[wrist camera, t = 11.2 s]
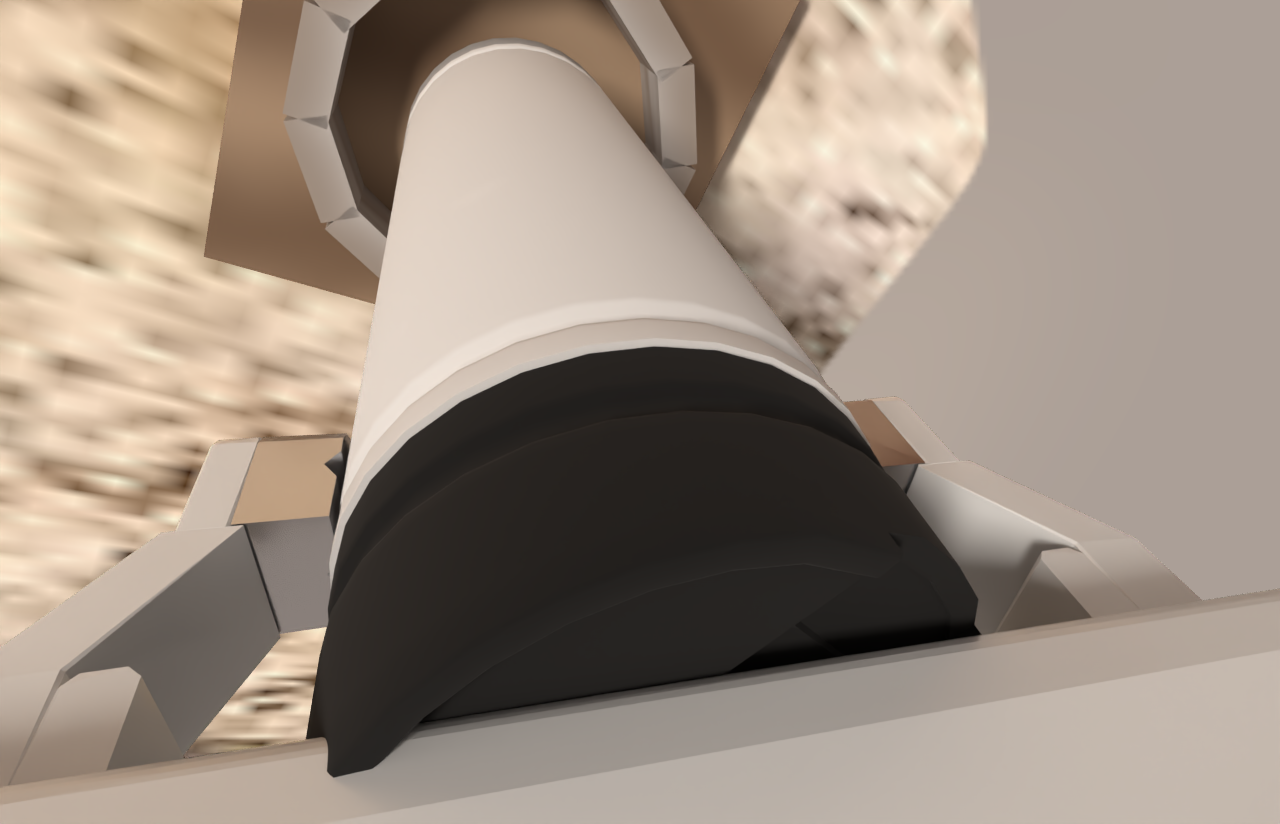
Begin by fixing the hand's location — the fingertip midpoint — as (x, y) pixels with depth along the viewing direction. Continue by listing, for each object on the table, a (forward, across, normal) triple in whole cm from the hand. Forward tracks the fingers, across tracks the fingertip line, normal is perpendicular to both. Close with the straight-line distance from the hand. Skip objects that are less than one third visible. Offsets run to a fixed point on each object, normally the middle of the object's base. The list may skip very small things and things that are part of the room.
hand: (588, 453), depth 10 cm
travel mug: (+14, 0, 0) cm, 14 cm away
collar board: (+19, 0, 0) cm, 19 cm away
